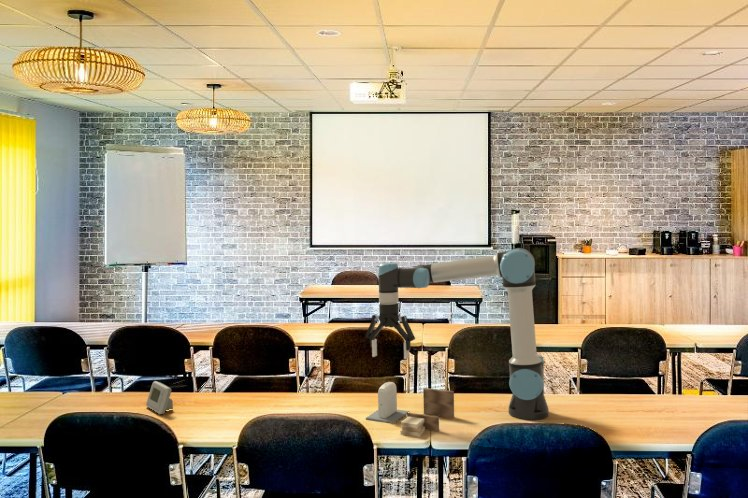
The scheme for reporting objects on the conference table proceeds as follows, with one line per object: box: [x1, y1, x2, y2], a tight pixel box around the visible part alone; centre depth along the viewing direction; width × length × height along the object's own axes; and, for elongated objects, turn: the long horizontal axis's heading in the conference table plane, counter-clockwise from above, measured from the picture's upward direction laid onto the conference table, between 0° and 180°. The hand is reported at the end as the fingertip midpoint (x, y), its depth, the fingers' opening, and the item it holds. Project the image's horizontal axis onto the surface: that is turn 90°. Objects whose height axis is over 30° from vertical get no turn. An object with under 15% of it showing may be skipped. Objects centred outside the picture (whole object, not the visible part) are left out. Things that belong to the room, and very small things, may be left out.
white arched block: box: [377, 381, 398, 418], centre depth 238 cm, size 10×4×12 cm, turn 153°
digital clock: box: [145, 380, 174, 415], centre depth 251 cm, size 16×9×11 cm, turn 29°
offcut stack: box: [399, 416, 426, 437], centre depth 219 cm, size 7×7×4 cm
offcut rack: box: [406, 387, 455, 432], centre depth 230 cm, size 12×17×10 cm
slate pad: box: [365, 409, 410, 424], centre depth 238 cm, size 12×14×1 cm
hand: (390, 357), depth 238 cm, fingers open, 13 cm apart
